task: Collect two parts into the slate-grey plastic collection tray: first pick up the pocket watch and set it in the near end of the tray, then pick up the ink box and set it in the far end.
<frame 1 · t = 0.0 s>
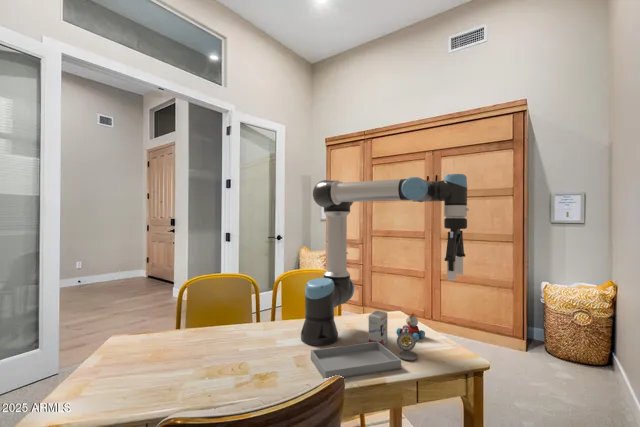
hand: (455, 277, 114), 28 cm above the table, fingers open, 13 cm apart
ink box: (378, 344, 125), on the table
pocket watch: (407, 356, 114), on the table
tray: (354, 363, 108), on the table
toy car: (410, 337, 133), on the table
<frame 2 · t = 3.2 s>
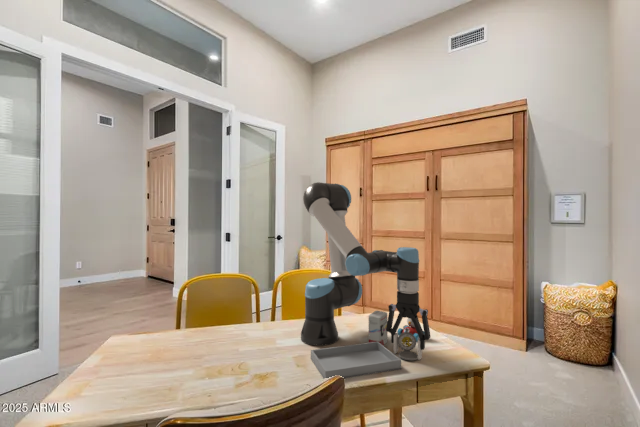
hand: (407, 355, 114), 0 cm above the table, fingers closed on pocket watch, 8 cm apart
pocket watch: (408, 356, 114), on the table, touching gripper
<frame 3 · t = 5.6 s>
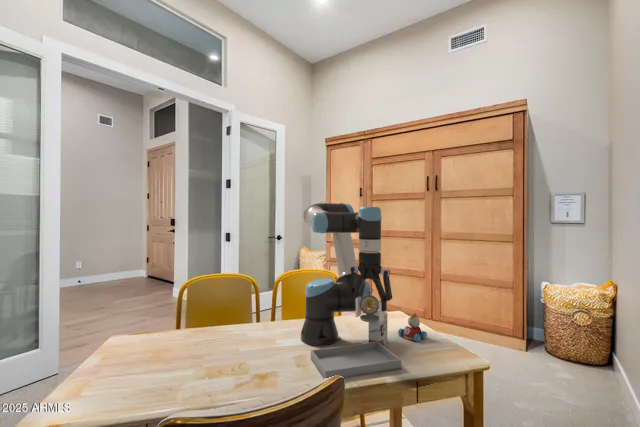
hand: (369, 318, 110), 15 cm above the table, fingers closed on pocket watch, 8 cm apart
pocket watch: (370, 319, 110), point 14 cm above the table, touching gripper
when the fingers open (3 cm above the table, at t = 8.1 s): pocket watch drops 2 cm, resting on tray.
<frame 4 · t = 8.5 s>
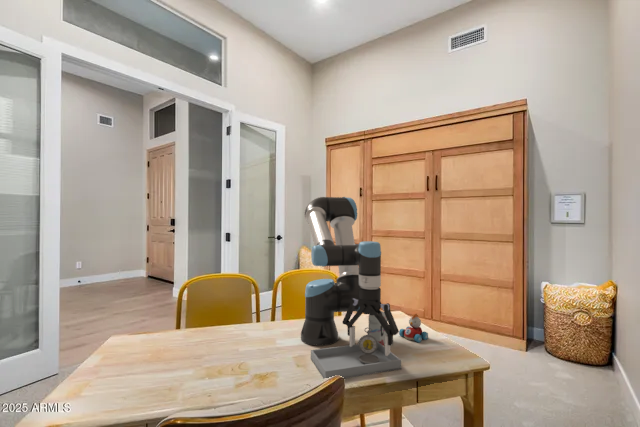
hand: (369, 349, 110), 4 cm above the table, fingers open, 12 cm apart
pocket watch: (369, 360, 110), resting on tray
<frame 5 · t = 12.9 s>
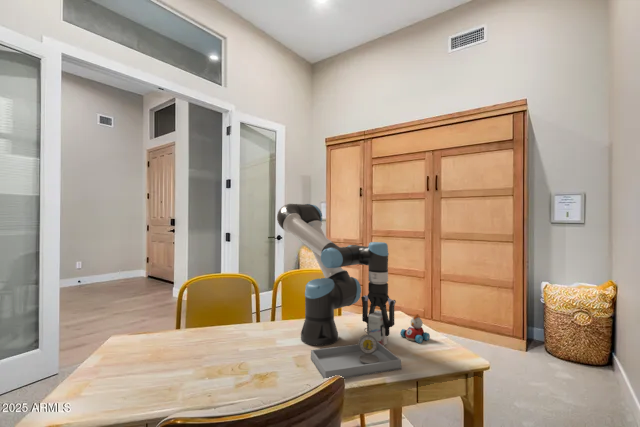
hand: (378, 342, 125), 1 cm above the table, fingers closed on ink box, 5 cm apart
ink box: (378, 344, 125), on the table, touching gripper
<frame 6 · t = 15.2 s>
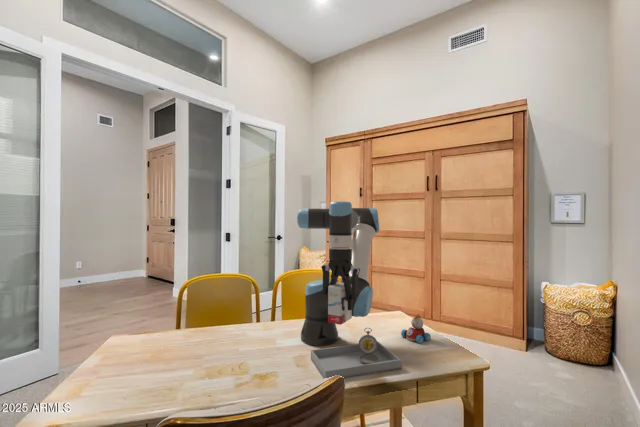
hand: (340, 318, 107), 16 cm above the table, fingers closed on ink box, 5 cm apart
ink box: (340, 321, 107), point 15 cm above the table, touching gripper
when the fingers open (3 cm above the table, at t = 17.8 s): ink box drops 2 cm, resting on tray.
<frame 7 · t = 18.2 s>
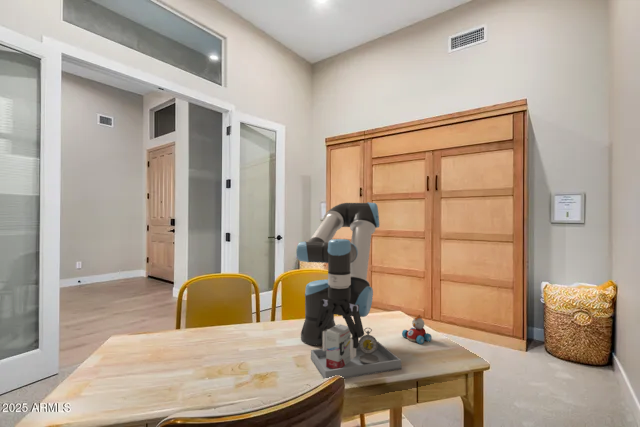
hand: (339, 353, 106), 4 cm above the table, fingers open, 10 cm apart
ink box: (338, 364, 107), resting on tray
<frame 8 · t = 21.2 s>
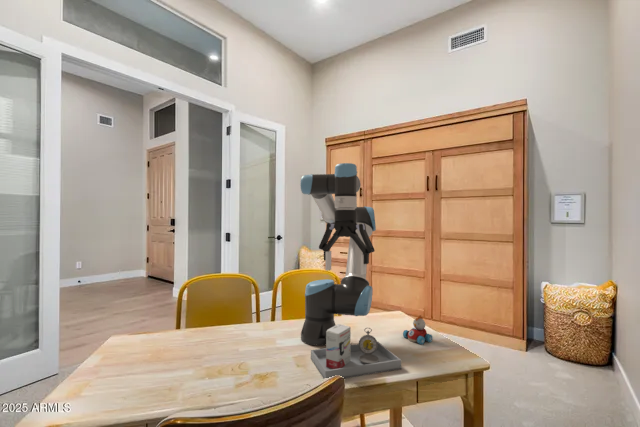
hand: (345, 272, 109), 31 cm above the table, fingers open, 13 cm apart
at the end: pocket watch inside the target area (0.1 cm from its centre), resting on tray; ink box inside the target area (0.2 cm from its centre), resting on tray; ink box tilted 0° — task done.
